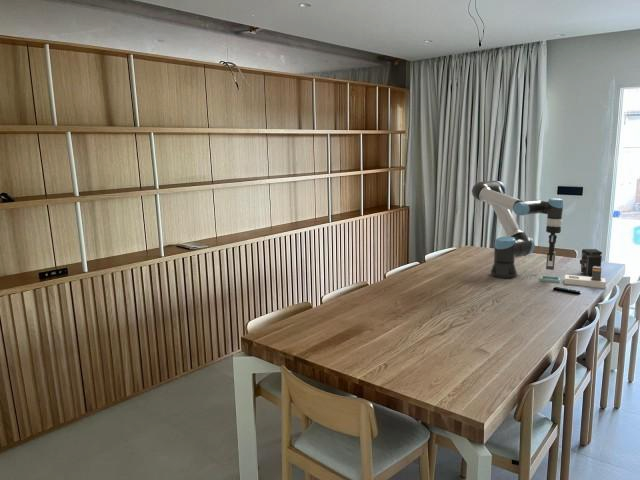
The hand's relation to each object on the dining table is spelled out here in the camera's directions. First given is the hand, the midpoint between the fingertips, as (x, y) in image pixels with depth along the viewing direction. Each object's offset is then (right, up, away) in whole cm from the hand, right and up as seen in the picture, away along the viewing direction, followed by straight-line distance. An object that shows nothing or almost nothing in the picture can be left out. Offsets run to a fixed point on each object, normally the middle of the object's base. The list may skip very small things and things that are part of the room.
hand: (550, 264), depth 272 cm
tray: (+1, -9, +1) cm, 9 cm away
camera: (+31, -6, +14) cm, 34 cm away
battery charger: (+16, -11, -7) cm, 20 cm away
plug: (0, -2, 0) cm, 2 cm away
